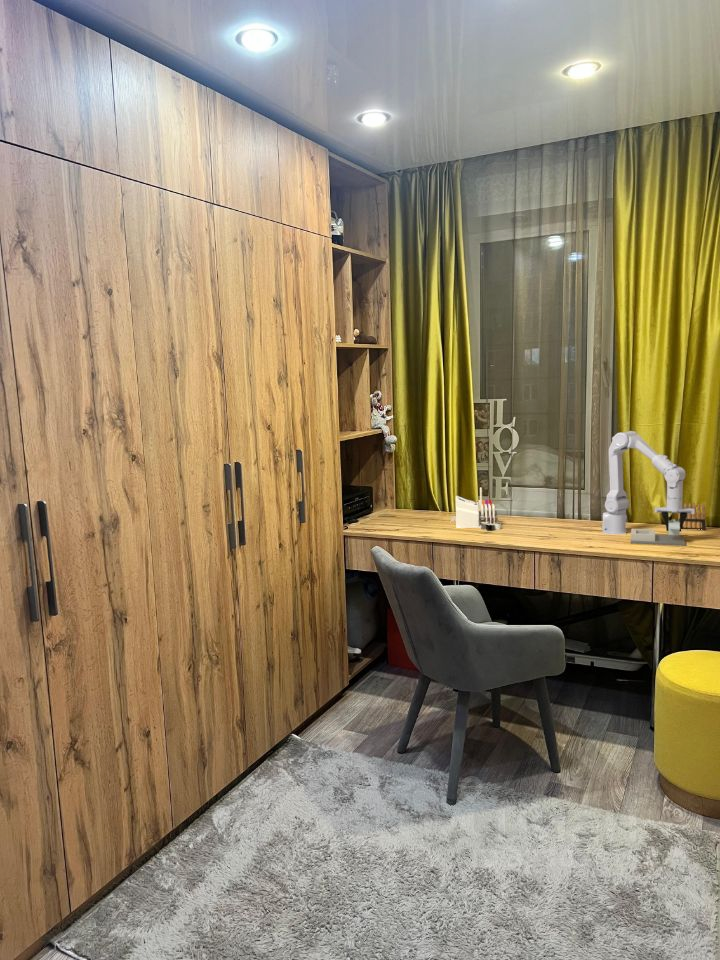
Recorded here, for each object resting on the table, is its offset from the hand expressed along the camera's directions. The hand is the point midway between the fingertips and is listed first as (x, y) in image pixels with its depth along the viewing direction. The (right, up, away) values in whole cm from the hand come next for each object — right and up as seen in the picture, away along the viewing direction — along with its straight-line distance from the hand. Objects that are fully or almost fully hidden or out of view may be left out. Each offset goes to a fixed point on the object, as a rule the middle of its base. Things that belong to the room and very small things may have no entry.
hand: (673, 530), depth 277 cm
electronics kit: (-70, 0, +54) cm, 88 cm away
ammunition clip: (+17, -1, +20) cm, 26 cm away
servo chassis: (-5, -4, +3) cm, 7 cm away
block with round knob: (0, -1, 0) cm, 1 cm away
